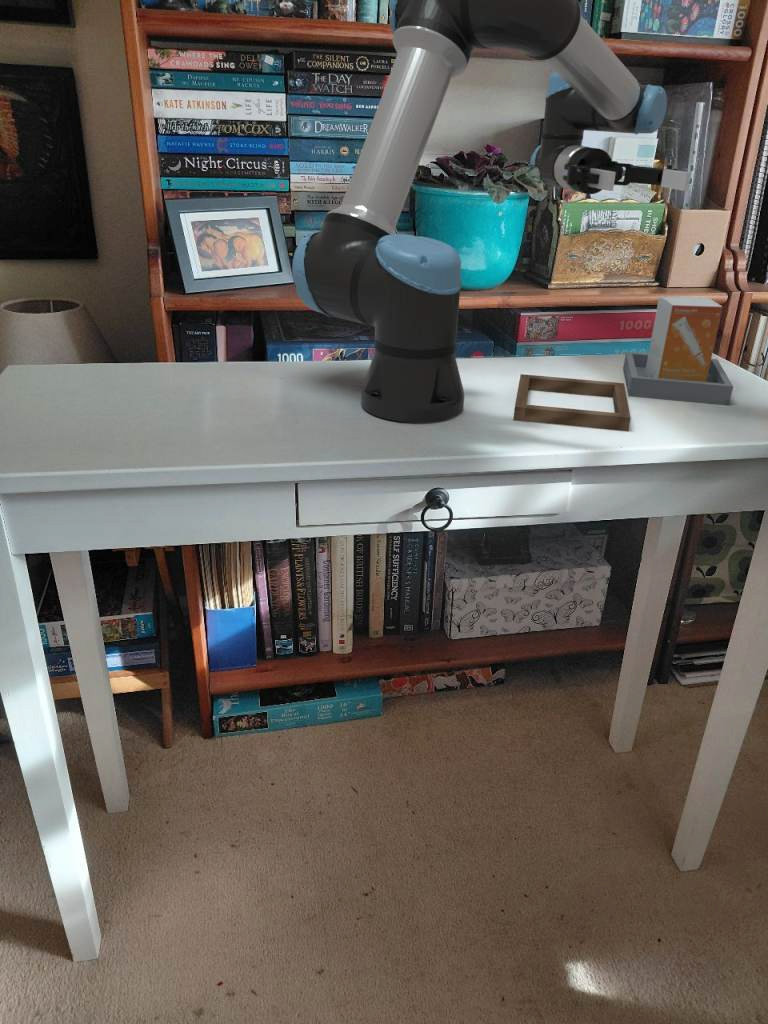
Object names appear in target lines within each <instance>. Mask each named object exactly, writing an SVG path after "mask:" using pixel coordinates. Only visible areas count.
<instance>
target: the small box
mask: <svg viewBox="0 0 768 1024" xmlns="http://www.w3.org/2000/svg"><path fill="white" fill-rule="evenodd" d="M722 312H723V306H722V305H720V304H719V303H717V302H716V301H714V300H713V299H711V298H710V297H692V296H658V301H657V307H656V312H655V316H654V317H655V318H654V323H653V328H652V333H651V339H650V344H649V348H648V353H647V354H648V359H647V365H646V370H645V375H646V376H647V377H652V378H663V379H675V380H686V381H698V382H706V379H707V375H708V370H709V366H710V362H711V359H712V357H713V352H714V349H715V348H714V347H715V344H716V339H717V333H718V331H719V325H720V321H721V317H722Z"/></svg>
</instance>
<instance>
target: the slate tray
mask: <svg viewBox="0 0 768 1024" xmlns="http://www.w3.org/2000/svg"><path fill="white" fill-rule="evenodd" d="M647 359H648V353H645V352H631V351H625V356H624V360H623V361H624V362H623V366H622V370H623V375H624V380H625V385H626V386H625V387H626V389H627V391H626V392H627V394H628V395H627V396H628V397H632V398H633V397H635V398H647V399H656V400H657V399H658V400H667V401H678V402H688V403H689V402H690V403H701V404H712V405H713V404H714V405H724V406H730V402H731V397H732V394H733V393H732V392H733V389H734V385H733V384H732V382H731V380H730V378H729V377H728V375H727V373H726V371H725V370H724V368H723V365H722V364H721V363H720V361H719V359H716V358H711V362H710V366H709V370H708V375H707V379H706V382H698V381H686V380H675V379H663V378H652V377H647V376H646V375H645V370H646V365H647Z"/></svg>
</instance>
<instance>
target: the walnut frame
mask: <svg viewBox="0 0 768 1024" xmlns="http://www.w3.org/2000/svg"><path fill="white" fill-rule="evenodd" d="M529 391H537V392H546V393H559V394H568V395H580V396H591V397H602V398H612V404H613V409H614V412H609V411H600V410H599V411H598V410H590V409H589V410H588V409H578V408H566V407H558V406H547V405H546V406H544V405H535V404H527V402H528V394H529ZM627 396H628V395H627V391H626V386H625V383H624V382H614V381H604V380H603V381H601V380H593V379H581V378H567V377H555V376H545V375H544V376H543V375H533V374H524V373H523V374H522V373H520V375H519V381H518V387H517V392H516V398H515V403H514V409H513V411H514V412H513V417H512V418H513V421H519V422H520V421H521V422H527V423H529V422H530V423H539V424H548V425H549V424H551V425H560V426H569V427H580V428H590V429H600V430H601V429H602V430H609V431H610V430H611V431H621V432H629V430H630V423H631V412H630V408H629V401H628V397H627Z"/></svg>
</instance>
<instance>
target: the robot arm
mask: <svg viewBox="0 0 768 1024" xmlns="http://www.w3.org/2000/svg"><path fill="white" fill-rule="evenodd" d="M388 9H389V10H391V14H390V15H389V16H388V20H389V21H388V22H389V25H390V29H391V32H392V34H393V35H392V44H393V47H394V49H395V51H396V53H397V55H396V57H395V60H394V62H393V65H392V68H391V71H390V73H389V76H388V79H387V82H386V84H385V86H384V89H383V92H382V95H381V98H380V100H379V103H378V106H377V109H376V110H375V113H374V116H373V118H372V122H371V125H370V127H369V130H368V133H367V135H366V138H365V140H364V143H363V146H362V148H361V151H360V154H359V157H358V159H357V162H356V165H355V168H354V170H353V172H352V175H351V178H350V180H349V183H348V187H347V189H346V192H345V194H344V197H343V199H342V203H341V205H340V206H339V207H337V208H334V209H331V210H329V211H328V212H327V214H326V216H325V219H324V221H323V224H322V226H321V229H320V230H317V231H313V232H310V233H309V234H308V235H307V236H304V237H303V238H302V239H301V240H300V241H299V243H298V245H297V247H296V248H295V251H294V254H293V259H292V264H291V265H292V268H291V269H292V270H291V273H292V280H293V284H294V285H295V291H296V293H297V296H298V297H299V299H300V301H301V302H302V303H303V305H305V306H306V307H307V308H309V309H311V310H312V311H314V312H318V313H319V314H323V315H325V316H327V317H328V318H335V319H336V318H338V319H343V320H347V321H351V322H354V323H358V324H363V325H365V326H369V327H370V326H371V327H374V351H373V352H374V353H373V356H372V359H371V362H370V365H369V368H368V370H367V372H366V376H365V378H364V381H363V383H362V387H361V394H360V395H361V397H360V398H361V401H360V403H361V407H362V408H363V410H365V412H367V413H370V414H371V415H373V416H376V417H378V418H381V419H386V420H388V421H389V420H390V421H395V422H403V423H434V422H441V421H447V420H449V419H452V418H454V417H457V416H459V415H460V414H461V413H462V412H463V411H464V404H465V390H464V386H463V384H462V383H463V381H462V380H461V375H460V371H459V366H458V362H457V357H456V349H457V348H456V347H457V335H458V323H459V310H460V309H459V308H460V297H461V296H460V295H461V290H462V289H461V288H462V285H463V284H462V283H463V281H462V273H461V272H462V261H461V257H460V254H459V253H458V251H457V250H456V249H455V248H454V247H452V246H451V245H449V244H448V243H445V242H443V241H441V240H437V239H434V238H431V237H426V236H420V235H419V236H417V235H411V234H403V233H398V234H397V233H396V226H397V224H398V221H399V219H400V217H401V216H400V215H401V214H402V210H403V208H404V205H405V202H406V200H407V197H408V195H409V192H410V189H411V187H412V185H413V184H412V183H413V181H414V178H415V176H416V174H417V171H418V167H420V166H419V165H420V162H421V160H422V158H423V155H424V153H425V149H426V147H427V144H428V143H429V139H430V136H431V133H432V131H433V128H434V126H435V122H436V120H437V117H438V115H439V112H440V110H441V108H442V107H441V106H442V104H443V101H444V99H445V97H446V93H447V91H448V88H449V85H450V84H451V83H450V82H451V80H452V79H454V78H457V77H459V76H461V75H463V74H464V73H465V71H466V69H467V67H468V65H469V61H470V59H471V56H472V54H473V52H474V50H477V49H479V50H481V49H506V50H507V49H508V50H514V51H519V52H522V53H524V54H525V55H526V56H527V58H529V59H531V60H533V61H537V62H545V64H546V65H548V66H549V67H550V68H551V70H553V73H551V74H550V75H549V78H548V84H547V90H546V96H545V98H544V99H545V107H544V117H543V128H542V134H541V135H542V137H541V140H540V141H541V142H540V145H538V146H537V147H536V149H534V151H533V153H532V155H531V157H530V161H529V165H530V164H531V165H535V166H536V167H537V168H538V169H539V171H540V176H541V179H542V181H543V183H542V184H544V185H546V186H548V187H555V188H559V189H564V190H570V194H571V195H575V194H576V192H578V193H582V194H586V195H595V194H598V193H600V192H602V191H603V190H604V191H608V192H612V191H614V186H628V185H630V184H642V185H653V186H660V187H661V188H666V189H673V190H677V191H683V192H688V190H689V186H690V182H691V181H690V180H691V177H692V172H688V171H682V170H680V169H677V168H673V165H672V164H667V168H662V167H650V166H639V165H634V164H632V163H625V162H618V161H616V160H612V158H611V156H610V154H609V153H608V152H606V150H604V149H602V148H598V147H590V146H585V145H582V144H583V140H584V132H585V131H587V132H588V131H590V132H592V131H593V132H604V133H605V132H608V133H618V134H619V133H622V134H623V133H624V134H634V135H639V134H653V133H655V132H657V131H658V130H659V129H660V127H661V126H662V124H663V123H664V118H665V116H666V113H667V108H668V107H667V106H668V105H667V104H668V97H667V92H666V91H665V89H664V88H663V87H662V86H661V85H651V84H644V85H643V84H641V83H640V82H639V81H638V80H637V79H636V77H635V76H634V75H633V74H632V73H631V71H630V70H629V69H628V68H627V67H626V66H625V65H624V63H623V62H622V61H621V60H620V59H619V58H618V57H617V54H615V53H614V52H613V51H612V49H611V48H610V47H609V46H608V45H607V44H606V43H605V41H603V39H602V38H601V37H600V36H599V35H598V34H597V32H596V31H595V30H594V29H593V28H592V27H591V25H590V24H589V23H588V22H587V21H586V20H585V18H584V17H583V16H582V6H581V5H580V1H579V0H389V3H388ZM622 178H623V181H620V180H621V179H622Z"/></svg>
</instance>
